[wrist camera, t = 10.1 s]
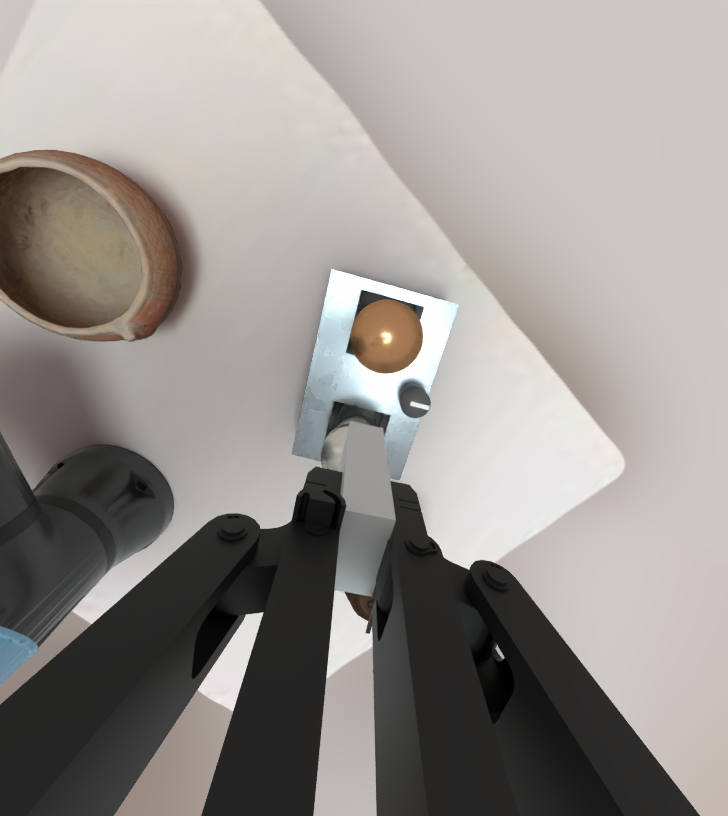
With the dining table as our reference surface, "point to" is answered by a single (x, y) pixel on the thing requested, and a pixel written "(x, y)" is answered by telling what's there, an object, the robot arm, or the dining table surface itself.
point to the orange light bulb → (386, 336)
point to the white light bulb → (343, 434)
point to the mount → (359, 386)
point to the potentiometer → (414, 400)
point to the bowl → (84, 248)
